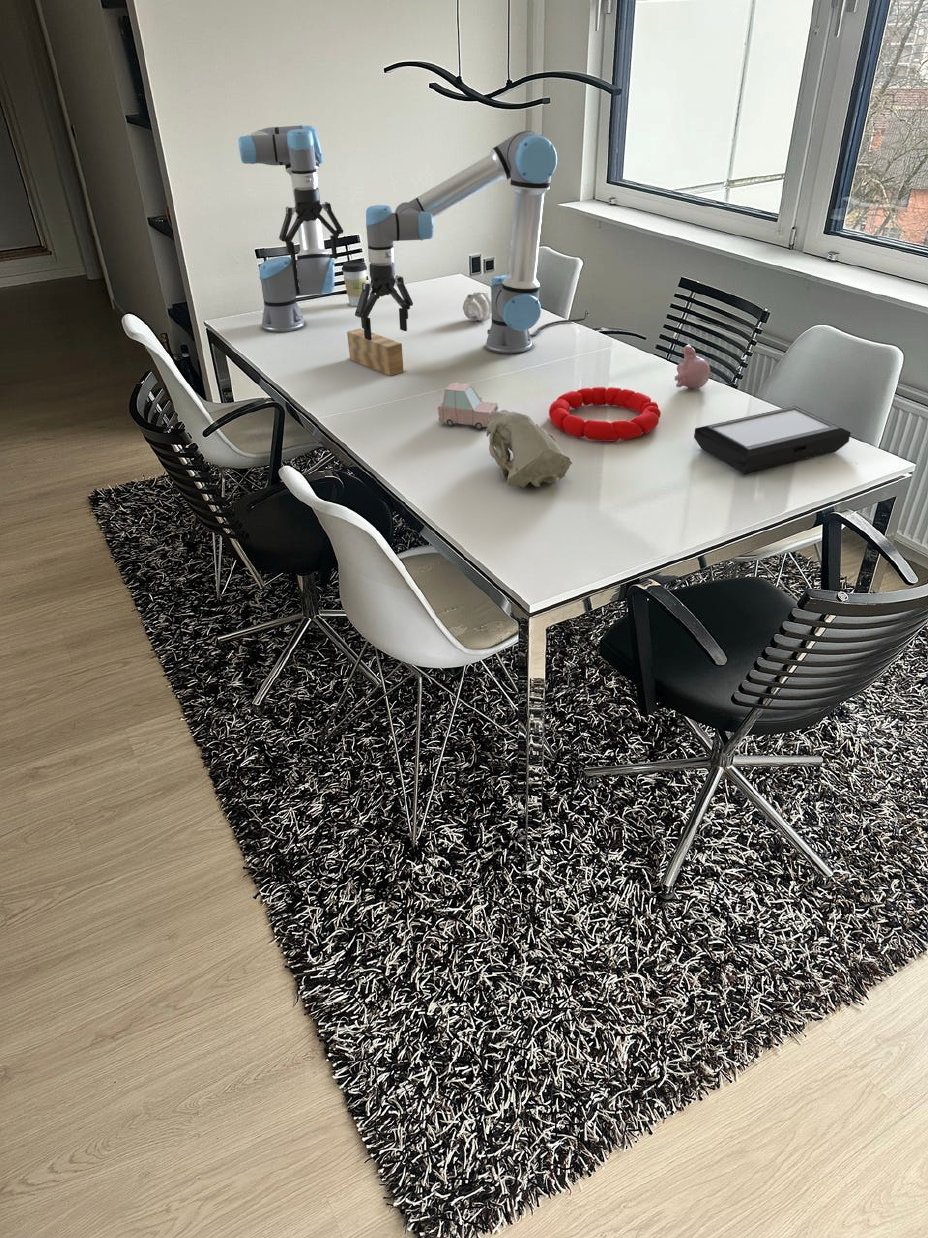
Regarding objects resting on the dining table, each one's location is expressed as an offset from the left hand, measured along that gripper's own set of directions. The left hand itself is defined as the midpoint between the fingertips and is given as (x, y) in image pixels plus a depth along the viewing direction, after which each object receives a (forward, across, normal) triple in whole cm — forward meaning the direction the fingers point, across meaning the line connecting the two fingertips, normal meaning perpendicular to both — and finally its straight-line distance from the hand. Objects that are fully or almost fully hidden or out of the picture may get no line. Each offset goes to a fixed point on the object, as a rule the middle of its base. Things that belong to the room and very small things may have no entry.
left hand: (314, 260), depth 282 cm
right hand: (+18, +12, -27) cm, 35 cm away
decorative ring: (+28, +46, -97) cm, 111 cm away
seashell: (+30, +62, +6) cm, 69 cm away
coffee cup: (+31, +31, +51) cm, 68 cm away
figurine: (+28, +82, -89) cm, 124 cm away
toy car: (+28, +14, -79) cm, 85 cm away
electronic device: (+27, +72, -134) cm, 154 cm away
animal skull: (+27, +12, -112) cm, 116 cm away
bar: (+29, +10, -20) cm, 37 cm away
